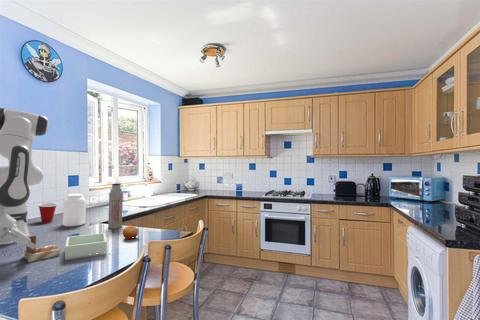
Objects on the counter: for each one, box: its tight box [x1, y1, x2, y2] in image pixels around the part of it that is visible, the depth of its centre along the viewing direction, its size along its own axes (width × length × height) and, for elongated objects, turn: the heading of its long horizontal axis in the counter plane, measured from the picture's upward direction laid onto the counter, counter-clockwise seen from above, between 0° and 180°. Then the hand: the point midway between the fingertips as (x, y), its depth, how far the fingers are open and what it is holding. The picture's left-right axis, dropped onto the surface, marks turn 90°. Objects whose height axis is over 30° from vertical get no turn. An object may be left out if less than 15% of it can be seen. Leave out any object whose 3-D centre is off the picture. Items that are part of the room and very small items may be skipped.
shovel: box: [23, 234, 61, 263], centre depth 116 cm, size 11×8×10 cm
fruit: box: [122, 224, 139, 241], centre depth 145 cm, size 8×8×8 cm
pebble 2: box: [49, 244, 59, 251], centre depth 120 cm, size 3×3×3 cm
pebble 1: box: [40, 246, 49, 252], centre depth 117 cm, size 3×3×3 cm
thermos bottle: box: [107, 183, 124, 229], centre depth 168 cm, size 8×8×28 cm
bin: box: [64, 232, 108, 261], centre depth 123 cm, size 16×16×6 cm
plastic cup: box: [37, 202, 58, 223], centre depth 178 cm, size 11×11×12 cm
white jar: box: [62, 193, 87, 227], centre depth 172 cm, size 12×12×20 cm
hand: (31, 244), depth 113 cm, fingers open, 8 cm apart
